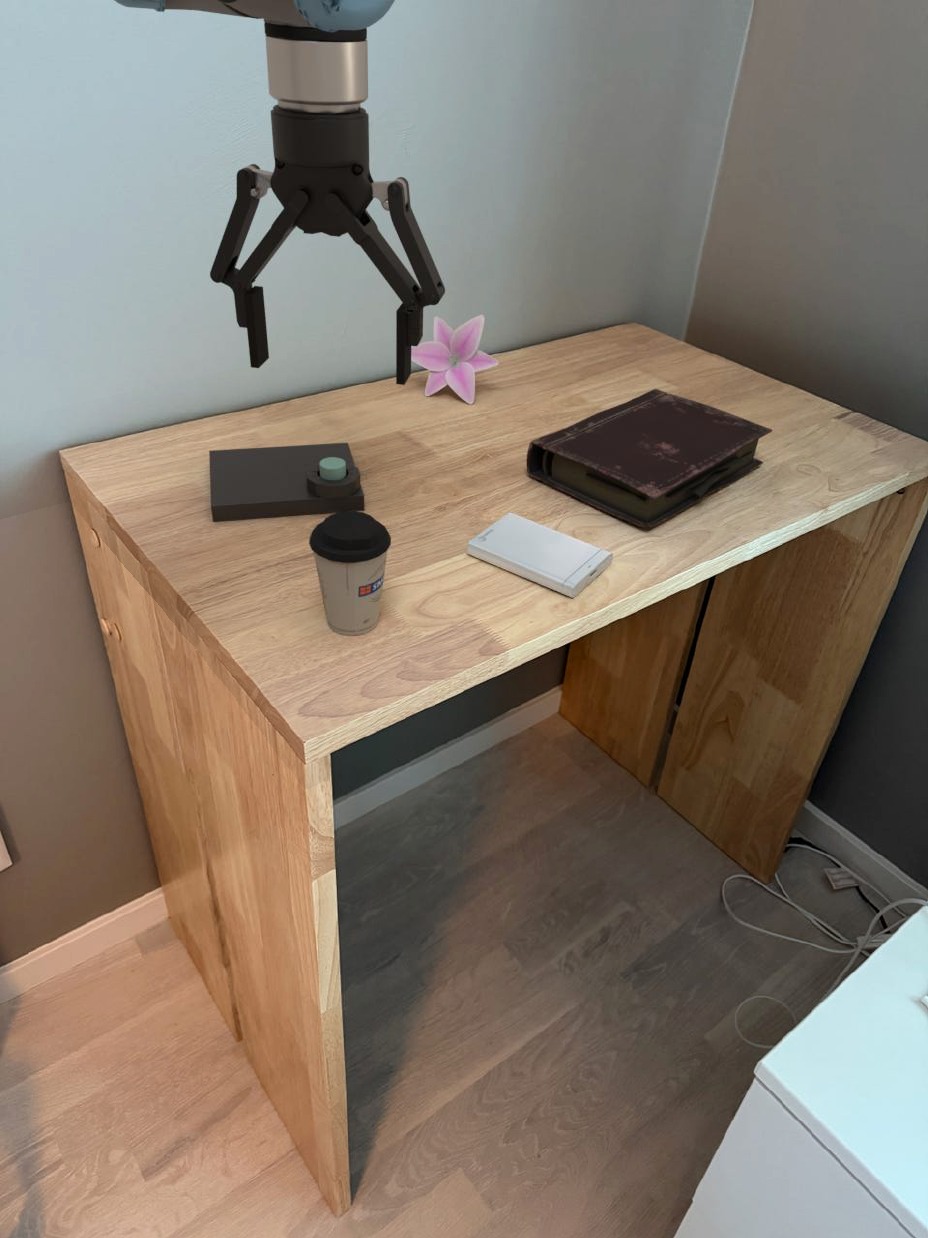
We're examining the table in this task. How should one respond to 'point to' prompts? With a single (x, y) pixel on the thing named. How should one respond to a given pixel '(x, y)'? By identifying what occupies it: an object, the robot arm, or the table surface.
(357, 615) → the coffee cup
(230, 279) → the robot arm
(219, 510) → the scale
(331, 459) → the button
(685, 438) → the diary
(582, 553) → the hard drive
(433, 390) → the lily
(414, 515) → the table surface
